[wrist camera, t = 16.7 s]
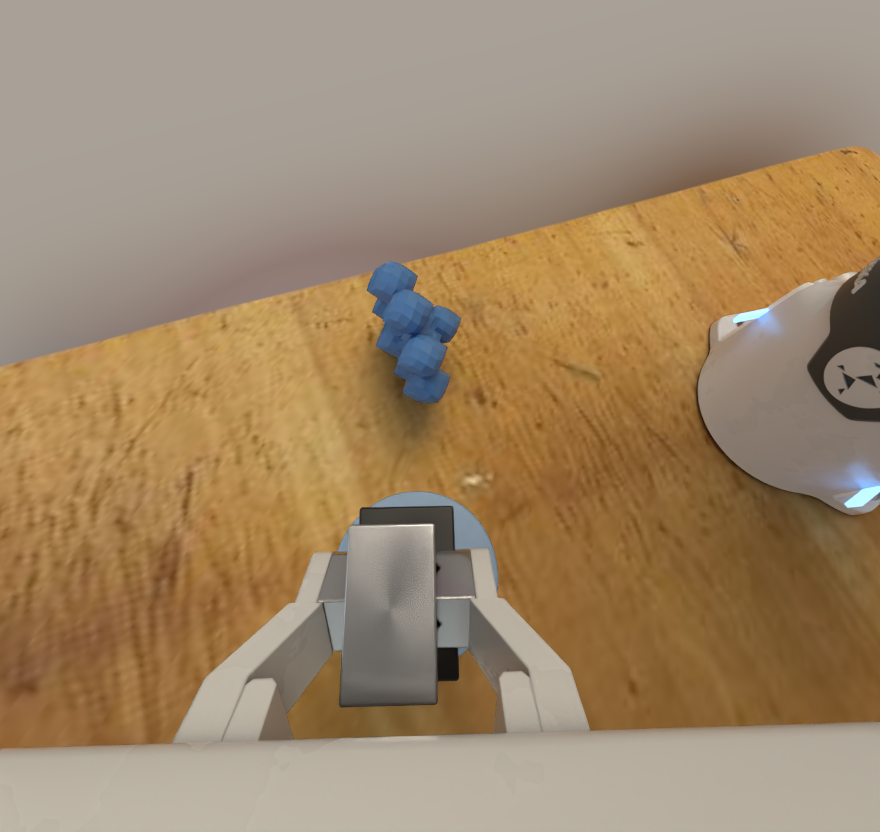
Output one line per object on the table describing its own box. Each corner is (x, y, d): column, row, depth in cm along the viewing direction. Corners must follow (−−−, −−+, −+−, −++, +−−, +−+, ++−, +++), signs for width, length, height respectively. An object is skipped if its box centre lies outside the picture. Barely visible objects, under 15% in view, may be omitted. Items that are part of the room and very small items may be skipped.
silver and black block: (449, 514, 15) (462, 483, 8) (454, 651, 14) (473, 759, 7) (375, 516, 15) (322, 486, 8) (370, 653, 14) (300, 765, 7)
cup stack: (456, 485, 31) (468, 443, 18) (504, 600, 28) (556, 639, 16) (348, 529, 30) (286, 515, 17) (388, 653, 27) (347, 741, 15)
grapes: (482, 412, 33) (507, 340, 22) (408, 439, 32) (393, 379, 21) (434, 304, 36) (433, 194, 25) (366, 326, 36) (333, 222, 24)
